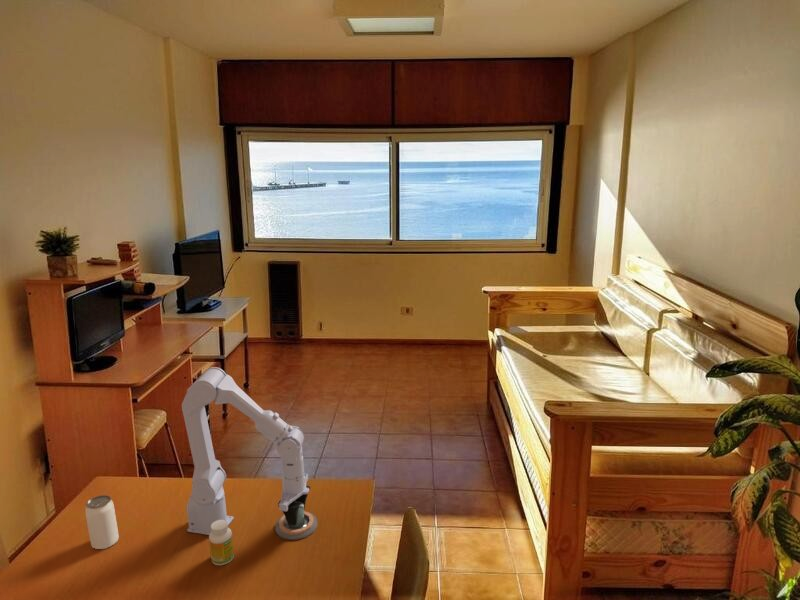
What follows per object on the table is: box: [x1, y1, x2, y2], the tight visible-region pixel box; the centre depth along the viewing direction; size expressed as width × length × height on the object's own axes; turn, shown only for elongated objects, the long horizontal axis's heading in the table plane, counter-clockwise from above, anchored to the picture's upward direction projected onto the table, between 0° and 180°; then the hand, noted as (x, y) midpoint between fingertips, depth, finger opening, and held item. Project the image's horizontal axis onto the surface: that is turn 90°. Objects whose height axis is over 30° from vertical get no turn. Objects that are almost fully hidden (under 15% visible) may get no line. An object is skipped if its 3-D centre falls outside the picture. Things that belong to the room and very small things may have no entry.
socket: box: [274, 510, 318, 541], centre depth 154 cm, size 11×11×2 cm
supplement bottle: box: [208, 520, 235, 566], centre depth 142 cm, size 5×5×10 cm
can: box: [84, 494, 120, 550], centre depth 148 cm, size 6×6×12 cm
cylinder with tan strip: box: [288, 501, 305, 529], centre depth 154 cm, size 5×4×6 cm
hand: (296, 518), depth 154 cm, fingers closed on cylinder with tan strip, 4 cm apart
